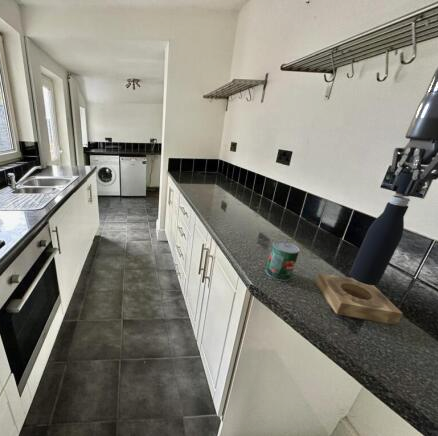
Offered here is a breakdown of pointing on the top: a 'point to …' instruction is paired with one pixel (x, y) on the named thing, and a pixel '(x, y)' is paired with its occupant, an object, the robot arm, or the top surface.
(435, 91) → the robot arm
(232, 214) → the top surface
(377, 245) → the dark blue water bottle
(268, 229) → the top surface
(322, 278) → the hole plate
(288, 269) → the canned tomato
